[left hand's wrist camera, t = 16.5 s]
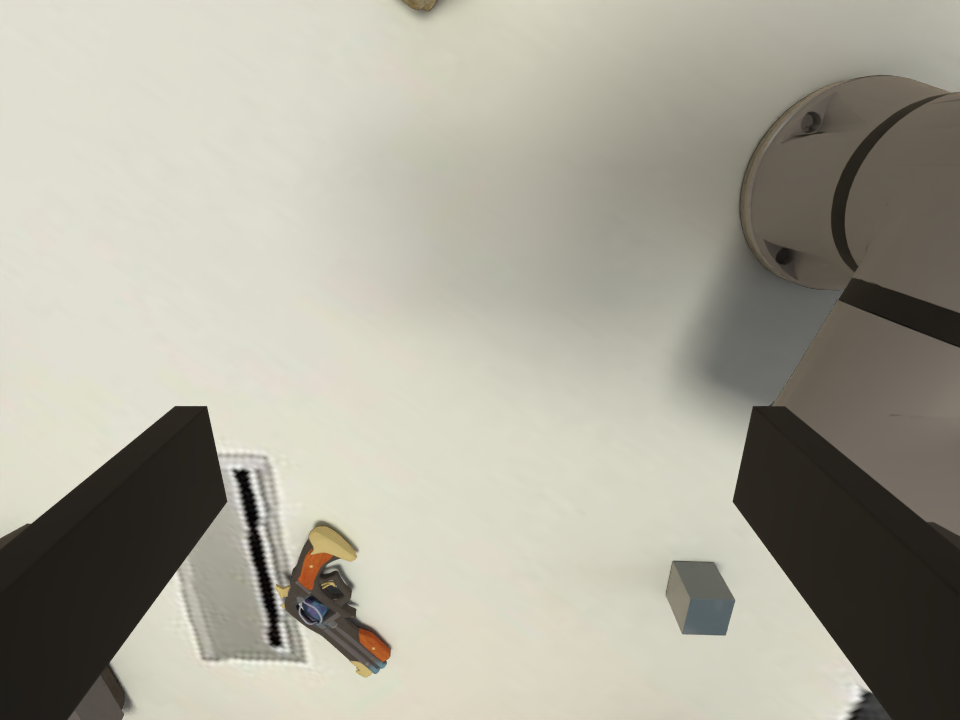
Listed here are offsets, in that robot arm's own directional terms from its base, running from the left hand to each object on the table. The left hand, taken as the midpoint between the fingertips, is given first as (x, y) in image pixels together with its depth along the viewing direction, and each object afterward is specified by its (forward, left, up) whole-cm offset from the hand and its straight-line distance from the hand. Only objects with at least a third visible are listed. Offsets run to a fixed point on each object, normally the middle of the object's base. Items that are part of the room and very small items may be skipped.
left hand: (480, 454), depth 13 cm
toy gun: (+15, +37, -32) cm, 51 cm away
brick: (-21, +35, -32) cm, 52 cm away
